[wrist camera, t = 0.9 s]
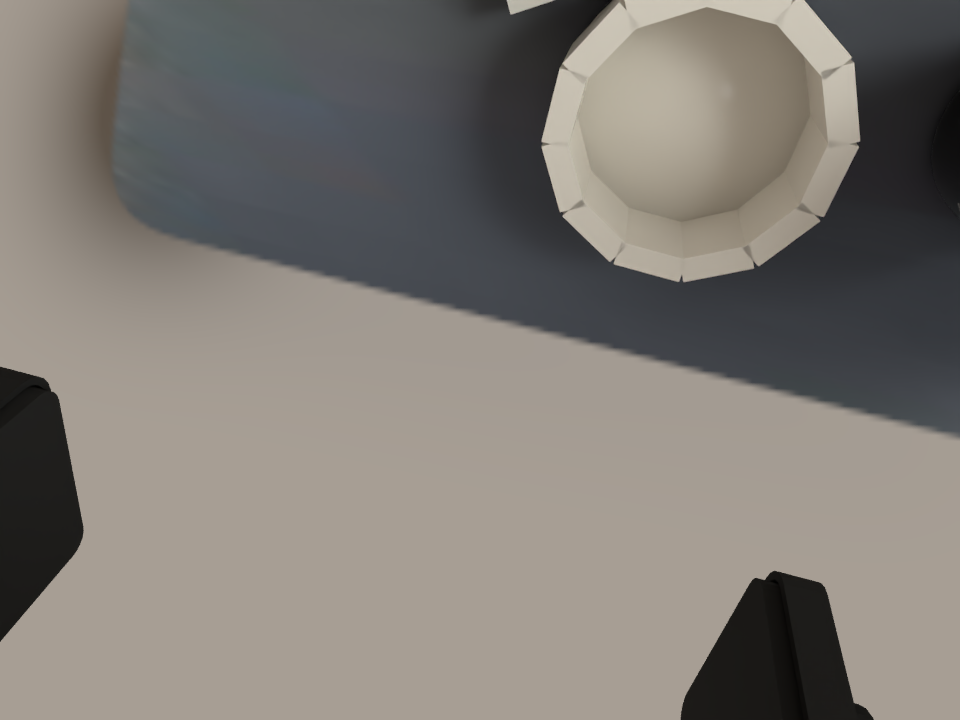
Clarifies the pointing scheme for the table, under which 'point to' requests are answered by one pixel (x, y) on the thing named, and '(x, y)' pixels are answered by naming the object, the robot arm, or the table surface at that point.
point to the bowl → (700, 132)
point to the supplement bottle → (948, 155)
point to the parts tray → (524, 4)
